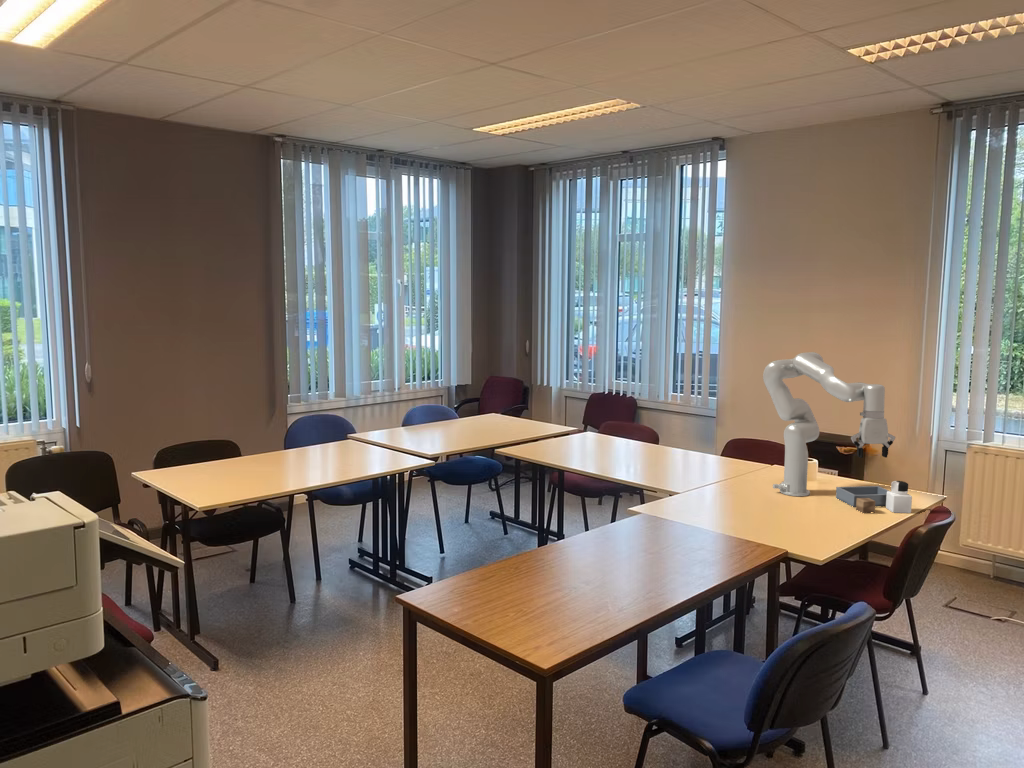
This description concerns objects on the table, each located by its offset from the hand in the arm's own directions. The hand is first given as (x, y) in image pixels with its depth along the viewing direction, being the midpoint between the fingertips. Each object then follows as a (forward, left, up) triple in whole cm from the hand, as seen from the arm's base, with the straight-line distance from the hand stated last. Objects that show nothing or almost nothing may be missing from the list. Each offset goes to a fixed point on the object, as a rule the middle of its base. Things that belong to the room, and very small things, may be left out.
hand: (872, 457), depth 295 cm
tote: (+5, +11, -22) cm, 25 cm away
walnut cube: (-3, -2, -22) cm, 22 cm away
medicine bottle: (+11, -2, -22) cm, 25 cm away
